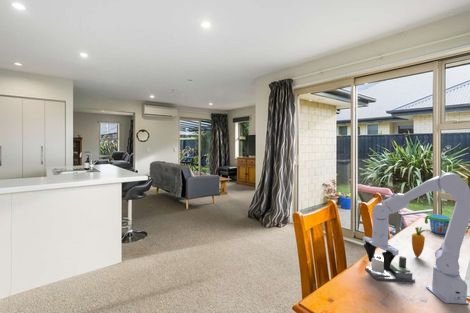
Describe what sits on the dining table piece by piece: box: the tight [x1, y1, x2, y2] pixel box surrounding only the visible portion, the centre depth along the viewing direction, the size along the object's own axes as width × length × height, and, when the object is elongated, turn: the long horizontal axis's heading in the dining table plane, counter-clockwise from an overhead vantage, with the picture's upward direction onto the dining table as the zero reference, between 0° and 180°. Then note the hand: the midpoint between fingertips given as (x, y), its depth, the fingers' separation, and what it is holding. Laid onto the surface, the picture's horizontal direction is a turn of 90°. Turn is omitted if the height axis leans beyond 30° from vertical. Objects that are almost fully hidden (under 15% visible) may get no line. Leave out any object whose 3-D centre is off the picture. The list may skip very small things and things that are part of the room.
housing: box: [370, 254, 385, 273], centre depth 103 cm, size 4×4×5 cm
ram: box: [390, 255, 411, 272], centre depth 102 cm, size 6×5×6 cm
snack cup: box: [424, 213, 451, 235], centre depth 154 cm, size 16×10×10 cm
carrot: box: [411, 226, 426, 258], centre depth 119 cm, size 5×5×15 cm
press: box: [364, 266, 416, 283], centre depth 103 cm, size 9×15×3 cm, turn 87°
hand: (378, 264), depth 103 cm, fingers open, 6 cm apart
